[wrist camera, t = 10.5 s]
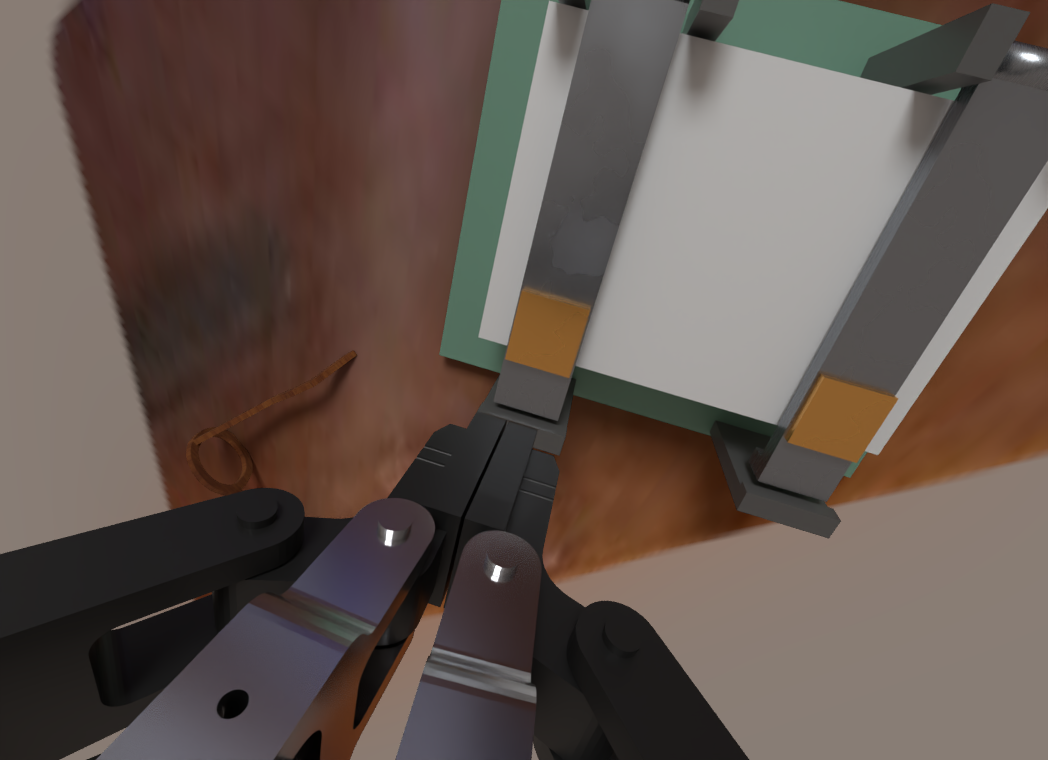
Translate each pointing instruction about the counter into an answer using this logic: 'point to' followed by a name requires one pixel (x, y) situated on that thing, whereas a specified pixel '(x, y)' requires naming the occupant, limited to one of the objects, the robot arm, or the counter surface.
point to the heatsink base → (726, 211)
